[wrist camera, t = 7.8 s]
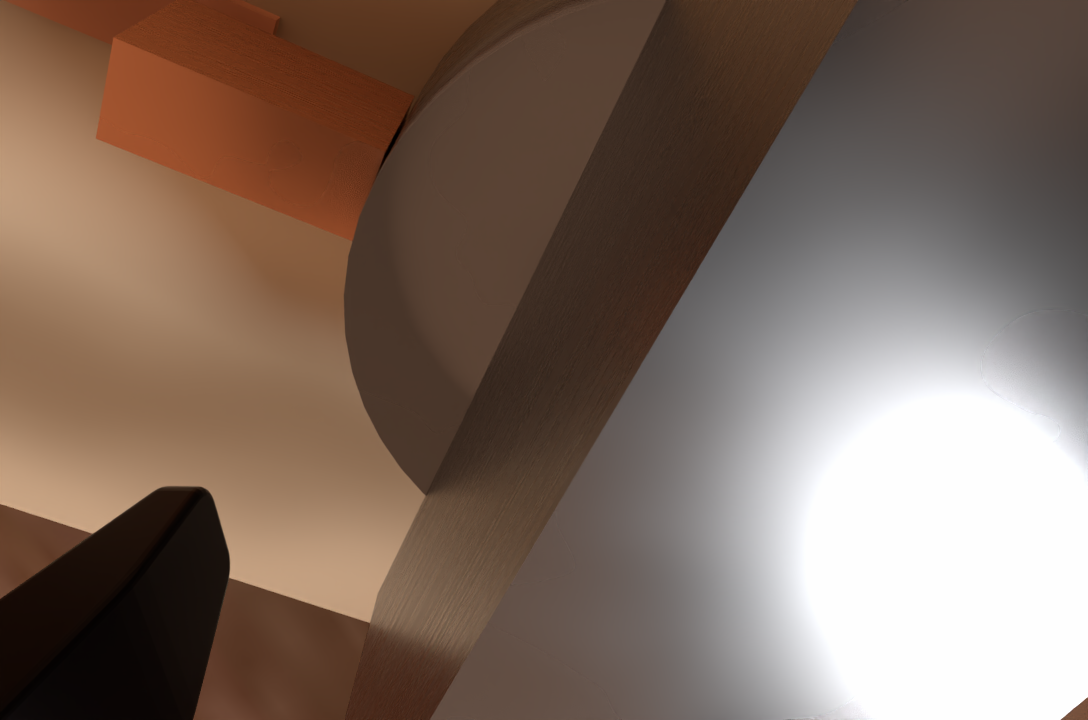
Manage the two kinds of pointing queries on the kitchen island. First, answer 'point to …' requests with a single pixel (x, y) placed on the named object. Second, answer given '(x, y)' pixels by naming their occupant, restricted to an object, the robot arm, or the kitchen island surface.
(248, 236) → the beige square board
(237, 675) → the kitchen island surface
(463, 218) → the coupling
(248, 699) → the kitchen island surface
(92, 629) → the robot arm
